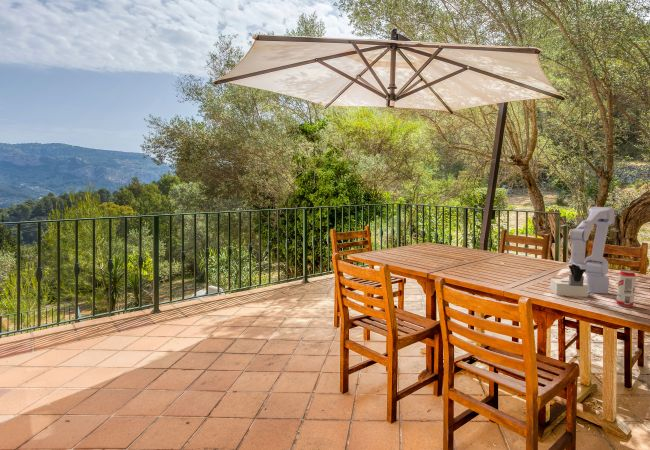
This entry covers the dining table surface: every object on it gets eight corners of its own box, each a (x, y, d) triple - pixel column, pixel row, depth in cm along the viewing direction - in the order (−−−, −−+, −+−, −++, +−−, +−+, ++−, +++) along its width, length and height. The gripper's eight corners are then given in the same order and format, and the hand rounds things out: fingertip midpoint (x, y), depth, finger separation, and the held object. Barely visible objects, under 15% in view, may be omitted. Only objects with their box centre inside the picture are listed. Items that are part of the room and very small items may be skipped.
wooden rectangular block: (581, 285, 190) (581, 275, 189) (583, 286, 188) (583, 276, 187) (568, 284, 191) (569, 274, 191) (570, 285, 189) (571, 275, 188)
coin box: (579, 291, 202) (580, 280, 201) (587, 296, 192) (588, 285, 191) (550, 289, 205) (550, 278, 204) (556, 295, 195) (557, 283, 195)
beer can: (618, 306, 177) (621, 272, 175) (614, 302, 183) (617, 269, 181) (635, 308, 175) (638, 273, 173) (630, 304, 181) (633, 270, 179)
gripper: (563, 250, 196) (561, 276, 197) (574, 255, 182) (572, 284, 183) (579, 251, 194) (577, 277, 196) (591, 256, 180) (589, 284, 182)
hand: (576, 280), depth 189 cm, fingers closed on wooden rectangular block, 2 cm apart
